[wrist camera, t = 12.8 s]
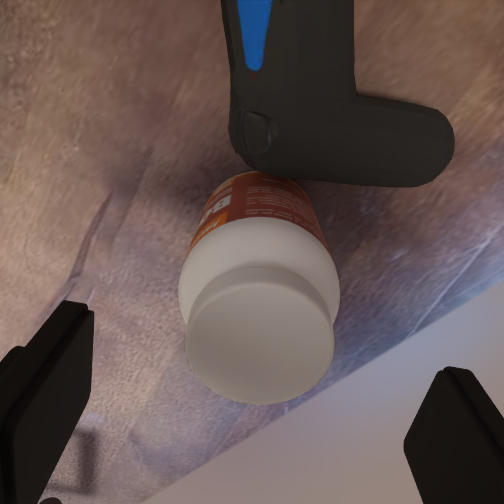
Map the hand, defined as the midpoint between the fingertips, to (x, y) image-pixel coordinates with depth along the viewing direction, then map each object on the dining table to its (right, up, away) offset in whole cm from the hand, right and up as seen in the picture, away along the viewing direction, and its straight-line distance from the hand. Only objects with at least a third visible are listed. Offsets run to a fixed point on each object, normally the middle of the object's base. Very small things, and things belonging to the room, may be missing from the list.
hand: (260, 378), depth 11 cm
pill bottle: (0, +5, +12) cm, 13 cm away
